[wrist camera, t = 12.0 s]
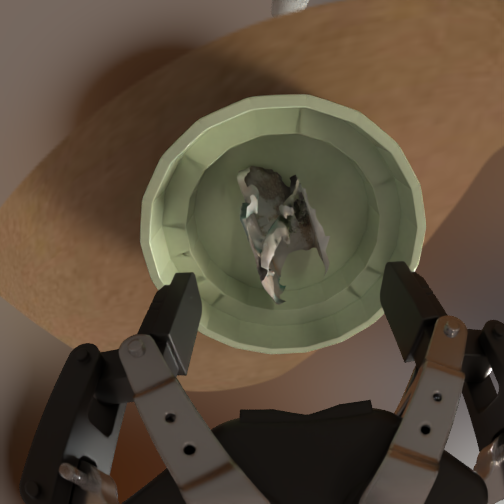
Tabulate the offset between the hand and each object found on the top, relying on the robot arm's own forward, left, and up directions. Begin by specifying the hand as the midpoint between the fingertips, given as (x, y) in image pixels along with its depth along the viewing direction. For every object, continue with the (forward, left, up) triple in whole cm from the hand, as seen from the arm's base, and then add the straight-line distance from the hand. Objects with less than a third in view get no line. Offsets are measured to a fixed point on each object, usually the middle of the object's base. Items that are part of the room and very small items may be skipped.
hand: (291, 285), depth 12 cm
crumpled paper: (0, 0, -8) cm, 8 cm away
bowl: (0, 0, -8) cm, 8 cm away
